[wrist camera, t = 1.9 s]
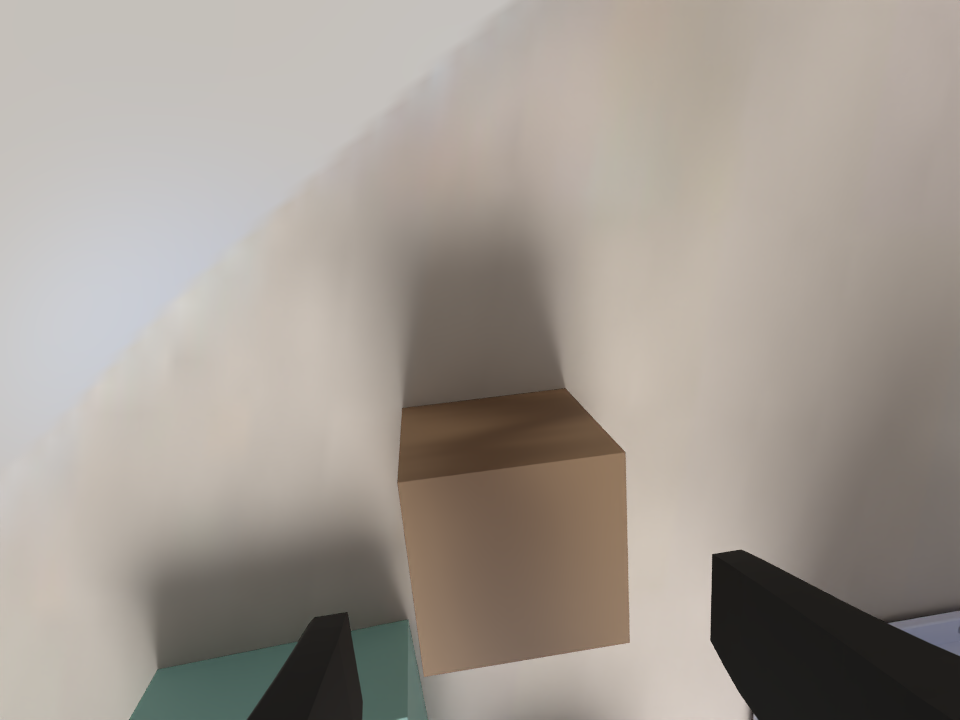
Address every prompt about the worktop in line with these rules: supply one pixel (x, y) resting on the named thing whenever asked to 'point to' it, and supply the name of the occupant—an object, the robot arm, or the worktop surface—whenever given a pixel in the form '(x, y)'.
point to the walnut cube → (513, 530)
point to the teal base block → (246, 676)
